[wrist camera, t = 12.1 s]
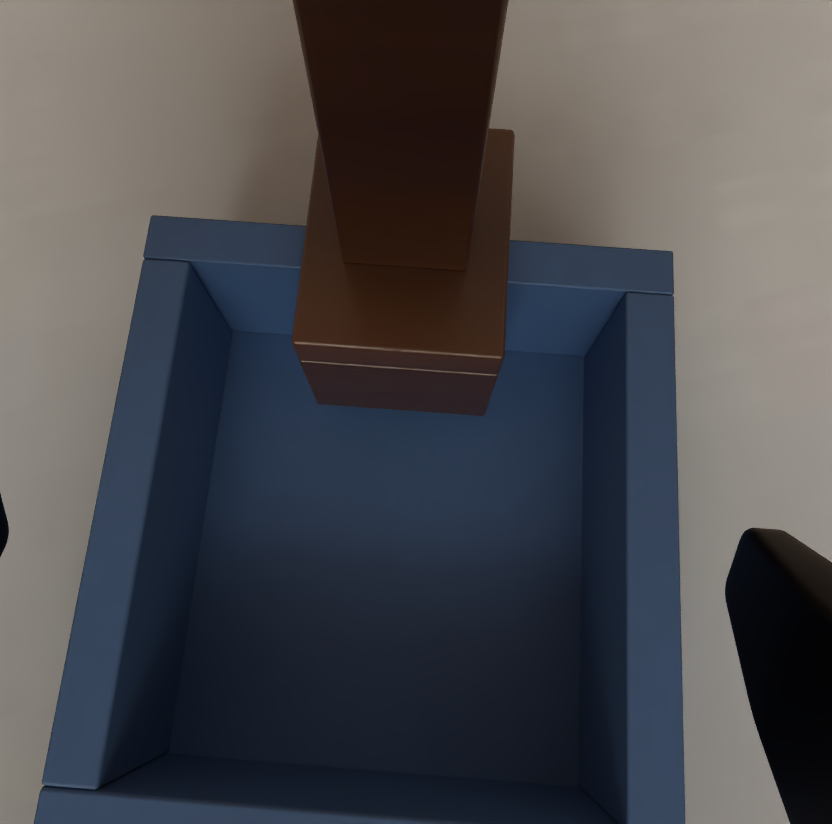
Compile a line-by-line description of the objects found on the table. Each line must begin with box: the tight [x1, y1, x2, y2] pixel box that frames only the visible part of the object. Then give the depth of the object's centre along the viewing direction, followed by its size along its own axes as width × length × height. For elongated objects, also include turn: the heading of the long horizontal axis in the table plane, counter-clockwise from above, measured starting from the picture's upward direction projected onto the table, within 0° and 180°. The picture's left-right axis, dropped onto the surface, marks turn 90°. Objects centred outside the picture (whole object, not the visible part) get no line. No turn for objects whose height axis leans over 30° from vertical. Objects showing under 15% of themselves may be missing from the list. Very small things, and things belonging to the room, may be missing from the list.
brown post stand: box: [291, 0, 515, 416], centre depth 12 cm, size 5×4×13 cm
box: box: [34, 215, 685, 824], centre depth 16 cm, size 12×11×4 cm
